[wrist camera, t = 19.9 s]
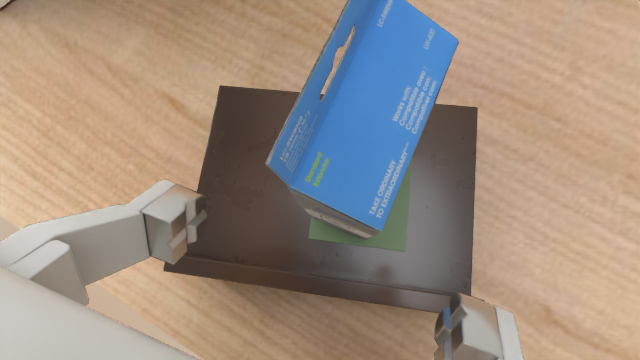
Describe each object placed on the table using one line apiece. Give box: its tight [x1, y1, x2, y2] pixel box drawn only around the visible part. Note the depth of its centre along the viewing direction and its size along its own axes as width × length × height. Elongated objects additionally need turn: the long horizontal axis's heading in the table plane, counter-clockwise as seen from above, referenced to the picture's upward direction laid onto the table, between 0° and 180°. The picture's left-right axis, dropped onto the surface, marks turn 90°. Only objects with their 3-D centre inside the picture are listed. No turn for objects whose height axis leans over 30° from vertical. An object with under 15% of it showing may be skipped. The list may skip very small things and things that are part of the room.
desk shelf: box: [164, 86, 485, 313], centre depth 22 cm, size 18×13×5 cm
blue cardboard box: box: [266, 0, 459, 240], centre depth 15 cm, size 9×4×12 cm, turn 156°
